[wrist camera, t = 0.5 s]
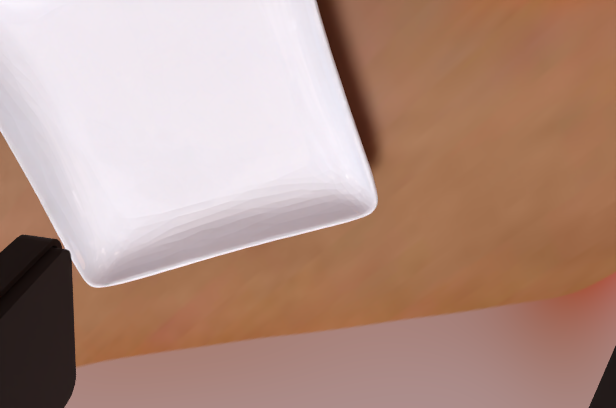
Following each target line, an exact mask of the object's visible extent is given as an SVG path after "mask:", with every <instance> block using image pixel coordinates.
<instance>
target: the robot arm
mask: <svg viewBox="0 0 616 408" xmlns="http://www.w3.org/2000/svg"><path fill="white" fill-rule="evenodd" d="M75 380H76V364H75V337H74V311H73V285H72V259H71V253H70V251H69V250H67V249H62V246H61V243H60V241H58V240H57V239H51V238H44V237H37V236H30V235H21V236H19V237H17V238H16V239H15V240H14V241H13V242H12V243H11V244H9V245H8V246H7V247H6V248H5V249H4V250H3V251H2V252H0V408H64V407H65V405H66V404H67V402H68V400H69V399H70V397H71V395H72V392H73V389H74V385H75ZM589 408H616V346H615V348H614V351H613V353H612V356H611V358H610V360H609V362H608V365H607V367H606V369H605V372H604V374H603V376H602V379H601V381H600V383H599V385H598V388H597V390H596V392H595V395H594V397H593V399H592V402H591V404H590V406H589Z"/></svg>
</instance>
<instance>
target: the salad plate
mask: <svg viewBox="0 0 616 408" xmlns="http://www.w3.org/2000/svg"><path fill="white" fill-rule="evenodd" d="M0 131H1V133H2V134H3V136H4V138H5V140H6V141H7V143H8V145H9V147H10V149H11V150H12V152H13V154H14V156H15V157H16V159H17V161H18V162H19V164H20V166H21V168H22V169H23V171H24V173H25V175H26V176H27V178H28V180H29V182H30V184H31V186H32V187H33V189H34V191H35V193H36V194H37V196H38V198H39V200H40V202H41V204H42V206H43V208H44V209H45V211H46V213H47V215H48V217H49V219H50V221H51V223H52V224H53V226H54V228H55V230H56V232H57V234H58V236H59V238H60V239H61V241H62V243H63V245H64V247H65V249H67V250H69V251H70V253H71V259H72V261H73V263H74V264H75V266H76V268H77V269H78V271H79V273H80V274H81V276H82V277H83V279H84V280H85V282H86V283H88V284H89V285H90V286H92V287H98V288H99V287H108V286H112V285H117V284H122V283H126V282H130V281H133V280H137V279H141V278H144V277H148V276H151V275H155V274H158V273H161V272H165V271H168V270H172V269H175V268H179V267H182V266H185V265H189V264H192V263H195V262H199V261H202V260H206V259H209V258H212V257H216V256H219V255H223V254H226V253H230V252H233V251H237V250H241V249H244V248H248V247H252V246H255V245H259V244H264V243H268V242H271V241H275V240H279V239H283V238H287V237H291V236H295V235H299V234H303V233H307V232H311V231H314V230H318V229H322V228H326V227H330V226H334V225H338V224H342V223H346V222H349V221H352V220H356V219H359V218H362V217H364V216H366V215H368V214H370V213H372V212H373V211H374V210H375V208H376V206H377V202H378V197H377V190H376V186H375V181H374V178H373V175H372V172H371V168H370V165H369V162H368V159H367V156H366V153H365V151H364V148H363V145H362V142H361V139H360V136H359V133H358V130H357V127H356V124H355V121H354V118H353V116H352V113H351V110H350V107H349V104H348V101H347V98H346V95H345V92H344V88H343V85H342V82H341V79H340V76H339V73H338V70H337V67H336V64H335V61H334V58H333V55H332V52H331V49H330V45H329V42H328V38H327V35H326V32H325V29H324V25H323V22H322V18H321V15H320V12H319V8H318V5H317V1H316V0H0Z"/></svg>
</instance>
